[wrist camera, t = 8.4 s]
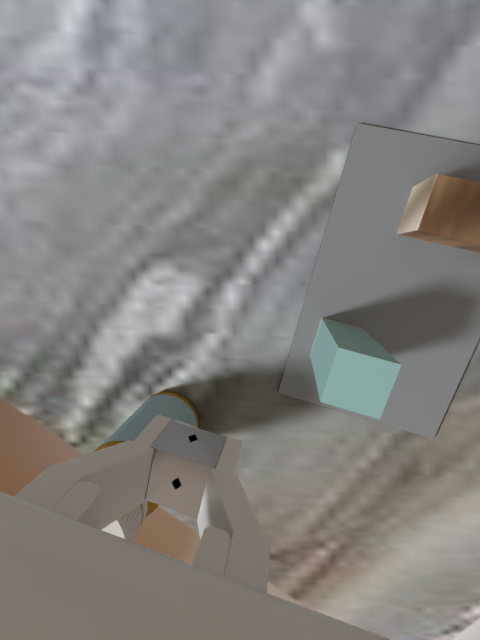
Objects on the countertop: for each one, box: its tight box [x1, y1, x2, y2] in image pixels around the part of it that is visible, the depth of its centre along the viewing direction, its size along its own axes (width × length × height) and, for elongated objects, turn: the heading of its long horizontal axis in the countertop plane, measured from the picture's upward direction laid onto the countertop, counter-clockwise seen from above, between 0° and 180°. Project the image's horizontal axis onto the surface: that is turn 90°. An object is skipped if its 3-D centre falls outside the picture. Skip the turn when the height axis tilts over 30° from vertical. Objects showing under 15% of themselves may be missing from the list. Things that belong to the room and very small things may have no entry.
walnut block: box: [396, 174, 480, 253], centre depth 23 cm, size 4×4×10 cm
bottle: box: [94, 392, 199, 542], centre depth 27 cm, size 7×7×15 cm
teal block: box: [310, 318, 401, 419], centre depth 24 cm, size 4×4×10 cm
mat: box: [278, 123, 480, 439], centre depth 27 cm, size 26×16×1 cm, turn 167°
